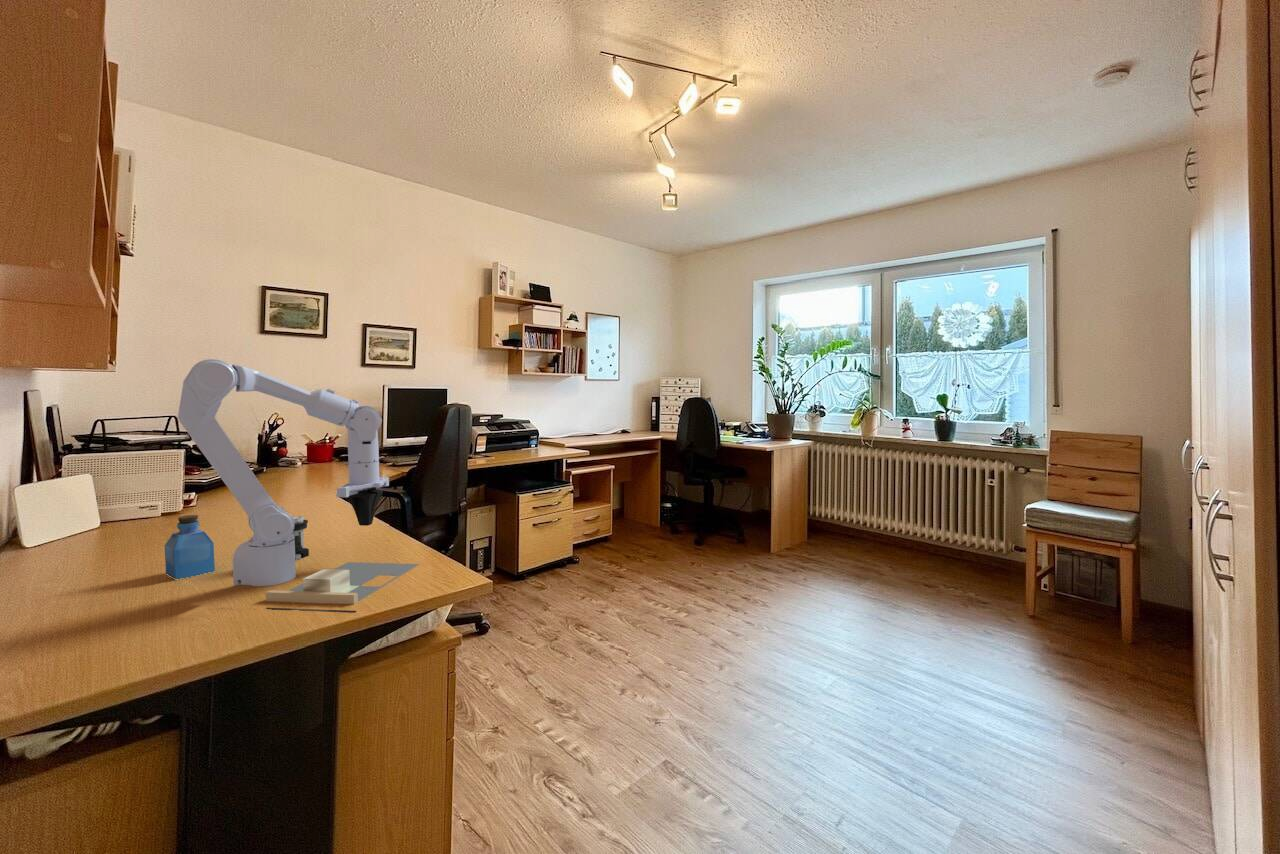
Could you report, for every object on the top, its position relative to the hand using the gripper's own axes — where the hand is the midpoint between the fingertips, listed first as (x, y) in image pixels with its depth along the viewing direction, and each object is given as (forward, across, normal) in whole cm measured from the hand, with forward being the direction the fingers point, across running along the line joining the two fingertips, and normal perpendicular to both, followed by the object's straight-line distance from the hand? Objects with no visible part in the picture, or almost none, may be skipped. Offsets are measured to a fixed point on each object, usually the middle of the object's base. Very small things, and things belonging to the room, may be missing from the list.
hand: (365, 524), depth 107 cm
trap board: (+9, -12, -4) cm, 16 cm away
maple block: (+8, -18, -5) cm, 20 cm away
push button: (+10, +2, +19) cm, 21 cm away
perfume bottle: (+10, -6, +35) cm, 37 cm away
